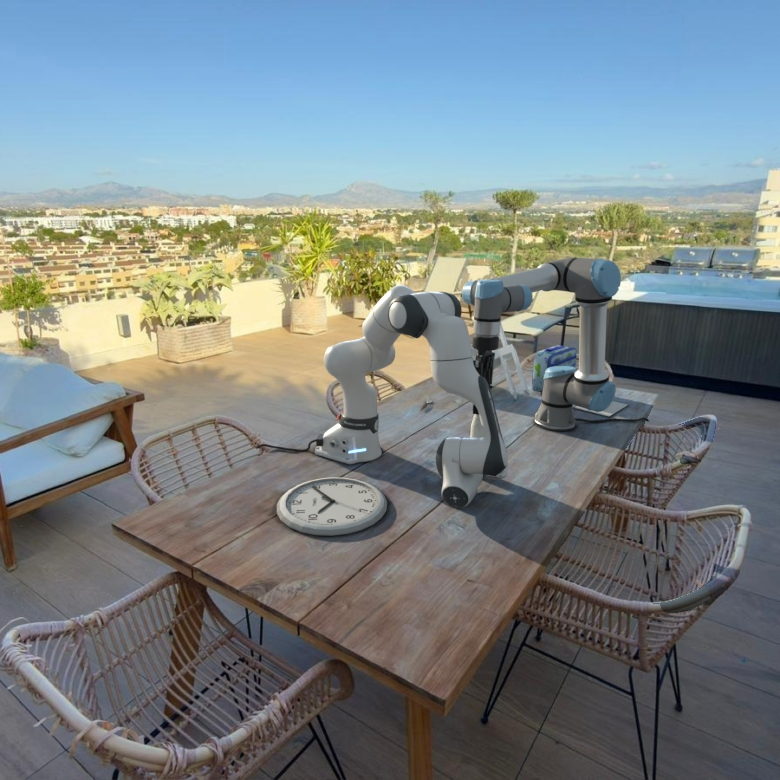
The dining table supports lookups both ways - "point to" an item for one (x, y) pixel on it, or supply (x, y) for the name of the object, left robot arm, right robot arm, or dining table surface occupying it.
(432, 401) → the fork
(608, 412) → the invitation card
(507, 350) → the white plastic object
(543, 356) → the lunch box
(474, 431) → the bottle
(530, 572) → the dining table surface
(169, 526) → the dining table surface
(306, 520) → the wall clock
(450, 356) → the left robot arm
